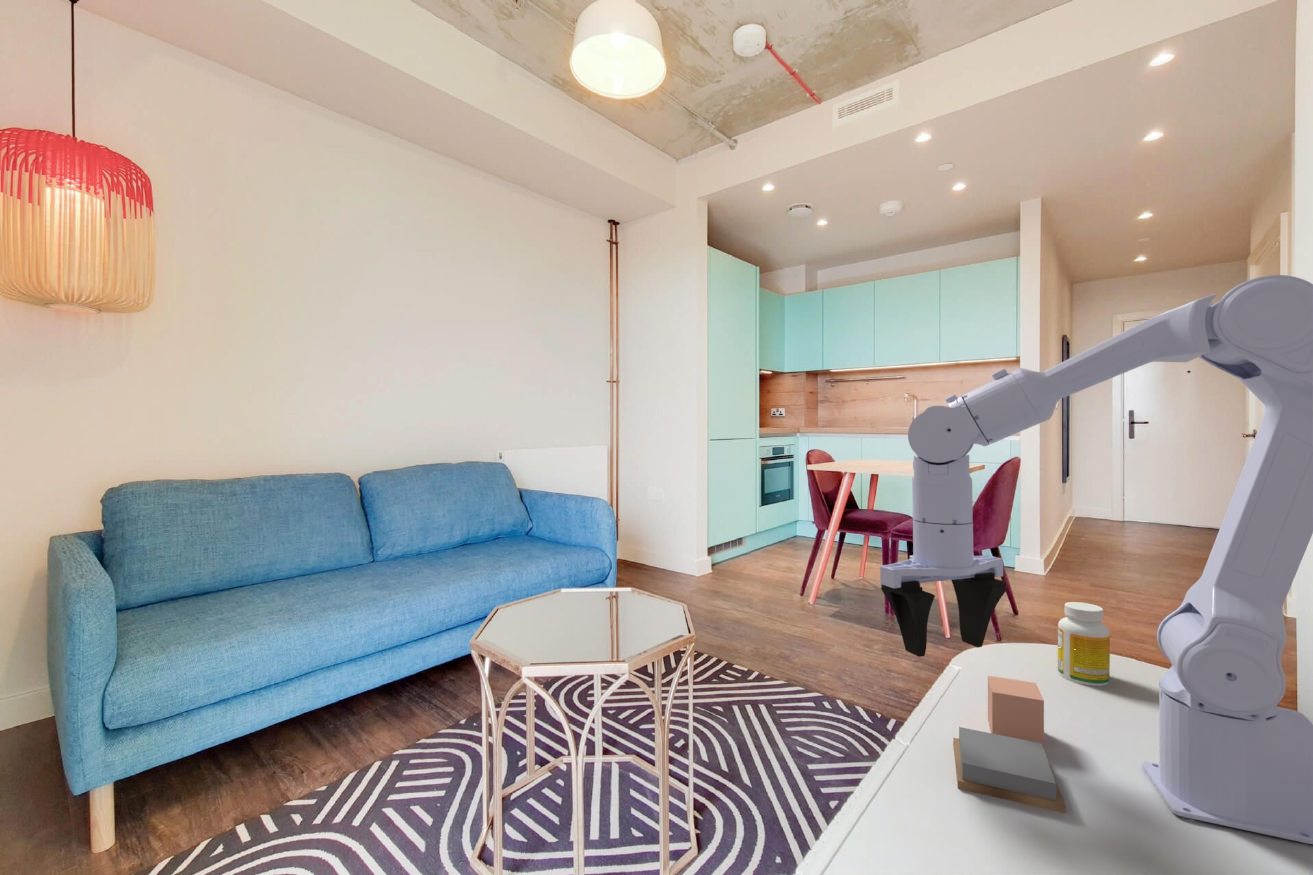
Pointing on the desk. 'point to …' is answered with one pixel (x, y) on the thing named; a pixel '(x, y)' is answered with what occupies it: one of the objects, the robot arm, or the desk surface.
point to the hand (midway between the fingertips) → (943, 648)
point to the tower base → (1003, 793)
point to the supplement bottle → (1084, 645)
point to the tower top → (1006, 763)
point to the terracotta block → (1015, 709)
